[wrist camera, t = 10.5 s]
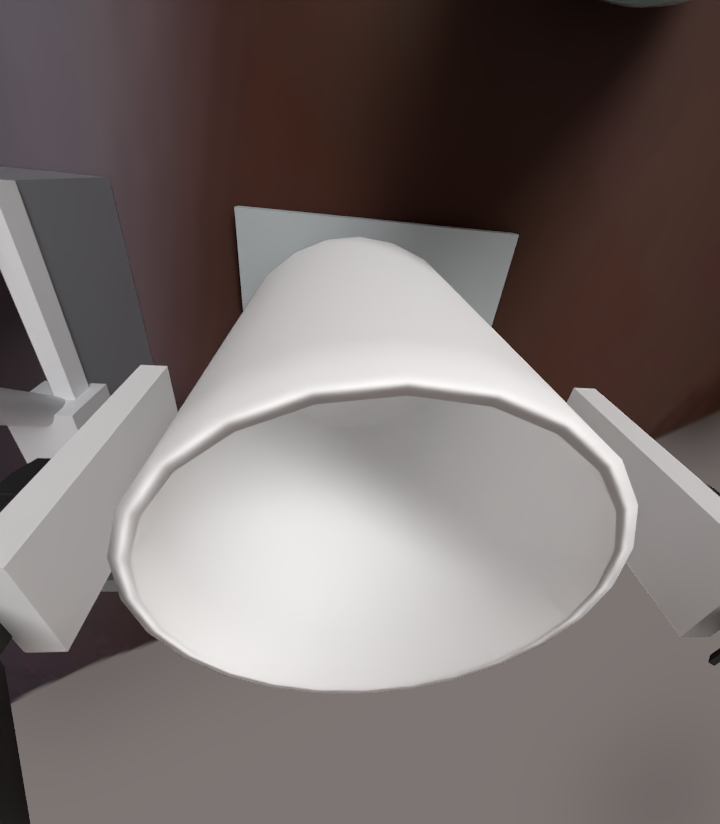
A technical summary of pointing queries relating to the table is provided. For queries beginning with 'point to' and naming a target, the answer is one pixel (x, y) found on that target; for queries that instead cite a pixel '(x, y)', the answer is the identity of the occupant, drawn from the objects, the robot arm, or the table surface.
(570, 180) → the table surface
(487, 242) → the pad
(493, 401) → the mug
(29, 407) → the case
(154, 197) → the table surface
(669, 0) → the cup
